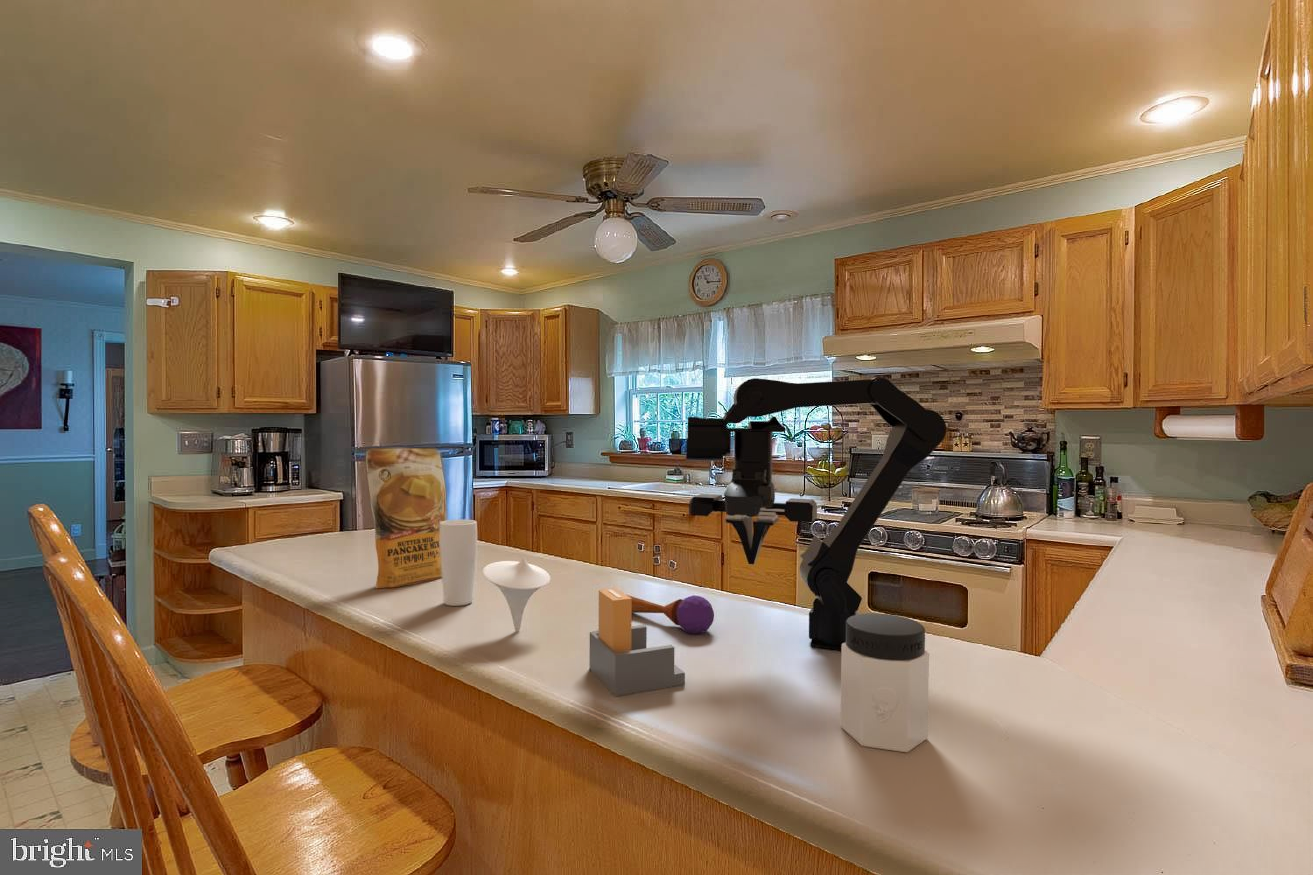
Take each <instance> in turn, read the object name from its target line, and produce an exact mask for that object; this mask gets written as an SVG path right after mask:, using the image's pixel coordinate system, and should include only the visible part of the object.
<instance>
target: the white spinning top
mask: <svg viewBox="0 0 1313 875" xmlns="http://www.w3.org/2000/svg"><path fill="white" fill-rule="evenodd" d="M482 576H483V577H484V578H485V579H486V580H487V581H489V582H490V583H492V584H493V585H494V586H495V587H497V588H498V589H499V591H500V592H501V593H502V595H503V596H504V598H505V600H506V602H507V605H508V608H509V611H510V614H511V615H510V616H511V619H512V623H513V627H514V631H515V632H517V633H518V632H520V630H521V625H522V620H523V614H524V611H525V607H526V605H527V604H528V601H529V600H530V599H531V597H532V596H533V594H535V593H536V592H537V591H539V590H540V589H541V588H543V587H545V586H547V585H548V584H549V583H550V582H551V575H550V574H549V573H548V571H546V570H545V569H543V568H541V567H539V566H538V565H535V564H531V563H529V562H527V561H526V558H525V557H522V558H521V560H520V561H514V560H501V561H495V562H491V563H490V564H487V565H486V566H484V568H483V569H482Z"/></svg>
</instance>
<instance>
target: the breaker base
mask: <svg viewBox="0 0 1313 875" xmlns="http://www.w3.org/2000/svg"><path fill="white" fill-rule="evenodd" d="M647 629H648V628H647V625H645V624H641V625H640V624H639V625H633V626H632V625H631V651H625V652H618V653H616V652H615V651H614V650H613V649H612V648H611V647H610V646H608V645H607V644H606V643H605V642H604V641H603V640H602V639H601V638H600V637H599V630H596V631H595V630H593V631H590V632H589V664H588V665H589V670H590V671H591V672H592V673H593V674H594V675H595V676H596V677H597V679H598V680H600V681H601V684H603V685H604V686H605V687H606V688H607V689H608V691H610V692H611V694H612V695H613V696H614V697H621V696H626V695H633V694H637V693H644V692H649V691H655V690H660V689H665V688H666V689H667V688H671V687H672V688H673V687H678V686H683V685H685V684H686V680H685V679H686V672H685V671H683V670H682V669H681V668H679V667H678V666H677V665H676V664H675V646H674V645H672V644H666V645H661V646H654V647H647V642H648V641H647V638H648V637H647V631H648V630H647Z"/></svg>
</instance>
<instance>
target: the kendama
mask: <svg viewBox="0 0 1313 875" xmlns="http://www.w3.org/2000/svg"><path fill="white" fill-rule="evenodd" d="M626 595H627V596H629V597H630V598H632V614H633V613H635V614H639V613H640V614H664V615H665V616H666V617H667V618H668V619H669V621H671V622H672V623H673V624H674V625H675V626H678V627H680V628H681V629H682V630H683V631H684V632H686V633H688V634H693V635H699V634H702V633H705V632H707V631H708V630H709V629H710V628H711V626H712V625H713V622H714V620H715V611H714V609H713V606H712V603H710V602H709V600H707V599H706V598H704V597H703V596H699V595H693V594H692V595H691V596H687V597H685V598H683V599H681V598H679V599H677V600H674V601H672V602H671V603H667V604H666V605H661V604H657V603H654V602H652V601H648V600H644V599H643V598H637V597H635V596H632V595H630V594H629V595H628V594H626Z"/></svg>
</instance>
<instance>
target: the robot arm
mask: <svg viewBox="0 0 1313 875" xmlns="http://www.w3.org/2000/svg"><path fill="white" fill-rule="evenodd" d="M862 404H863V405H864V404H868V405H870V407H872V409H873V410H874V411H875V412H876V413H877V415H878V416H880V418H881V419H882V420H883V421H884V422H886V424H887V425H888V426H889V427H891V429H890V431H889V434H888V436H887V438H886V442H885V447H884V450H883V455H882V457H881V458H880V460H879V462H878V463H877V465H876V466H875V467H874V469H873V471H872V472H871V474H870V475H869V476H868V478H867V480H866V481H865V483H864V484H863V485H862V486H861V489H860V490H859V492H858V493H857V495H856V497H855V498H854V500H853V501H852V502H851V503H850V506H848V509H847V510H846V511H845V513H844V514H843V516H842V517H841V519H840V520H839V522H838V523H837V525H836V526H835V527H834V529H833V531H832V532H831V533H829V534H828V535H827V536H826V537H824V538H823V539H822V540H821V539H820V538H819V537H818V536H817V535H814V536H813V537H812V539H811V541H810V543H809V546H808V547H807V549H806V550H805V551H804V552H802V553H801V554H800V555H799V556H800V558H801V559H802V560H801V562H800V565H799V572H800V577H801V578H802V580H803V582H804V583H805V584H806V585H805V586H807V587H808V589H809V590H810V591H811V593H813V594H814V596H815V597H816V598H815V599H814V601H813V603H812V608H811V609H810V610H809V613H808V638H809V640H810V643H809V644H810V645H809V646H810V647H814V648H821V649H822V648H823V649H830V650H837V651H841V646H842V643H845V642H846V620H847V619H848V618H849V617H851V616H854V615H858V610H859V609H860V608H859V607H860V605H861V602H862V600H863V598H862V595H860V594H859V593H858V592H857V591H856V589H854V588H853V587H852V586H851V585H850V584H849V583H848V580H849V579H850V576H851V574H852V571H853V568H854V565H855V561H856V556H857V554H858V550H859V548H860V546H861V544H862V543H863V542H864V540H865V539H866V538H867V535H868V534H869V533H870V531H871V530H872V528H874V525H875V524H876V522H877V520H878V519H879V518H880V516H881V515H882V513H883V512H884V510H885V508H886V507H887V505H888V504H889V503H890V501H891V500H892V498H893V497H894V495H895V494H896V492H897V490H898V489H899V488H900V486H901V485H902V483H903V482H904V480H905V478H907V476H908V474H909V473H910V472H911V471H912V470H913V469H914V468H916V467H917V466H918V465H919V464H921V463H922V462H923V461H925V460H926V459H927V458H928V457H929V456H930V455H931V454H932V453H933V452H934V451H935V450H936V449H937V448H938V447H939V446H940V445H941V444H942V443H943V441H944V440H945V438H946V436H947V433H948V432H947V431H948V428H947V425H946V421H945V420H944V418H943V416H942V415H941V414H939V413H938V412H937V411H935V410H933V409H926V408H925V407H924V406H922V404H920V403H919V402H918V401H916V400H915V399H914V398H912V397H911V396H909V395H908V394H906V393H904V392H903V391H902V390H900V389H899V388H898V387H897V386H895V385H894V384H893V383H892V382H891V381H890V380H889V379H888V378H886V377H882V376H878V377H873V378H869V379H855V380H854V379H853V380H852V379H850V380H839V381H838V380H837V381H836V380H835V381H819V382H817V381H816V382H804V383H802V382H801V383H798V382H797V383H794V382H788V381H782V380H775V379H765V378H757V377H756V378H749V379H747V380H745V381H743V382H742V383H741V384H740V385H739V386H738V387H737V388H736V389H735V391H734V394H733V403H732V405H731V407H730V408H729V409H728V411H725V412H724V416H723V417H722V418H720V417H719V418H715V417H713V418H712V417H711V418H710V417H708V418H707V417H706V418H705V417H699V416H689V417H687V437H686V438H685V439H686V440H685V442H686V443H685V444H686V446H685V455H686V456H685V461H686V462H723V461H724V460H723V459H724V456H729V455H731V445H732V444H731V441H732V440H731V432H733V433H734V436H733V437H734V444H733V445H734V447H733V449H734V450H733V452H734V454H733V468H732V473H731V474H732V475H731V481H730V483H729V484H728V486H727V487H726V489H725V491H724V494H723V495H724V496H723V495H722V494H709V493H708V494H707V493H705V494H704V493H701V494H698V495H694V496H692V498H691V499H690V500H689V503H688V515H690V516H698V517H709V516H710V515H711V514H712V513H713V512H716V513H717V512H719V513H720V512H722V513H723V512H724V513H725V514H726V518H725V519H724V521H725V523H726V524H730V525H732V527H733V528H734V529H735V531H736V533H737V535H738V538H739V539H740V542H741V545H742V548H743V551H744V554H745V557H746V560H747V563H748V565H755V564H756V561H757V559H758V556H759V554H760V551H761V548H762V545H763V543H764V539H765V537H766V536H767V533H768V532H769V529H770V528H771V526H774V525H775V524H777V523H778V522H779V521H780V518H779V516H784V517H785V518H786V519H788V521H789V522H795V523H796V522H797V523H798V522H799V523H812V522H814V521H815V520H816V519H817V518H818V504H817V502H816V501H815V500H814V499H813V498H811V499H810V498H809V499H808V498H791V497H790V498H789V499H788V500H786V501H785V502H775V500H776V494H775V493H776V492H775V486H774V482H773V479H772V478H773V477H772V476H773V433H785V432H786V430H787V429H786V427H785V426H784V425H783V424H781V423H780V421H779V420H778V418H777V417H776V416H770V418H769V420H767V421H765V420H763V421H762V420H757V421H756V420H749V422H748V425H747V426H748V427H742V428H741V427H739V428H738V427H728V424H740V423H741V422H743V421H744V420H746V419H747V418H757V417H760V418H761V417H763V416H768V415H772V414H776V413H781V412H785V411H789V410H794V409H798V408H811V407H812V408H813V407H815V408H816V407H828V406H829V407H830V406H847V405H848V406H849V405H862ZM723 497H724V499H723ZM755 517H757V518H756V519H755V520H753V518H755Z"/></svg>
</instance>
